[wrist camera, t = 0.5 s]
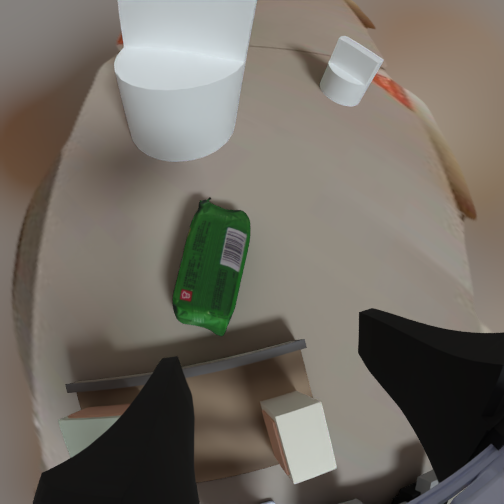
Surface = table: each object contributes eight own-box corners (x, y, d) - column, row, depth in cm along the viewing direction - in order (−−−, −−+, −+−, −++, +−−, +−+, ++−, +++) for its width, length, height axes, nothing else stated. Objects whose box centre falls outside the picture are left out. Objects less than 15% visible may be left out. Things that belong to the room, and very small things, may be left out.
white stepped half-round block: (311, 86, 50) (330, 40, 39) (332, 74, 53) (351, 33, 42) (348, 112, 49) (373, 67, 38) (366, 97, 52) (389, 57, 41)
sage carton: (157, 436, 27) (143, 459, 20) (97, 440, 25) (72, 461, 18) (146, 399, 28) (128, 414, 21) (86, 405, 27) (57, 417, 19)
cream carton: (296, 390, 31) (321, 401, 24) (310, 446, 29) (336, 468, 22) (257, 402, 30) (272, 417, 23) (273, 458, 28) (291, 485, 21)
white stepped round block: (158, 82, 45) (151, -53, 19) (247, 99, 46) (279, -46, 20) (111, 149, 39) (63, -12, 13) (216, 174, 40) (238, -20, 14)
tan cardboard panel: (322, 445, 30) (332, 453, 27) (112, 485, 24) (104, 496, 21) (295, 338, 34) (304, 337, 31) (77, 380, 28) (65, 383, 25)
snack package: (252, 219, 39) (258, 201, 34) (228, 338, 33) (231, 336, 28) (200, 208, 38) (199, 188, 33) (169, 324, 33) (162, 320, 28)
